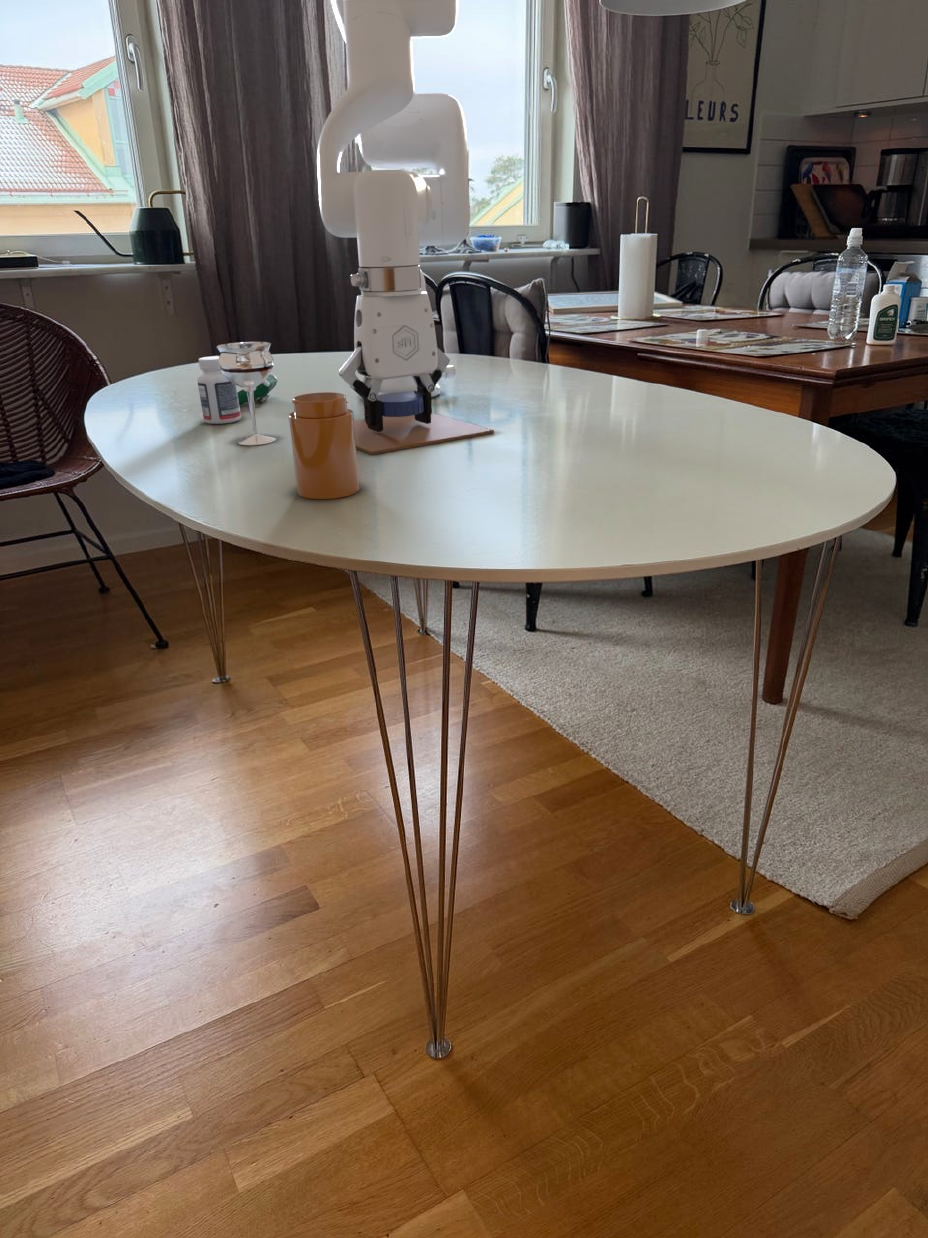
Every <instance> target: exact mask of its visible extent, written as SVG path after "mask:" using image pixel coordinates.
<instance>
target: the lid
mask: <svg viewBox="0 0 928 1238" xmlns="http://www.w3.org/2000/svg"><path fill="white" fill-rule="evenodd" d="M377 400H380V401H381V403H382V416H385V417H404V416H412V415H417V414H420V413H422V412H423V411H424V401H423V396H422V395H420V394H416V393H387V394H381V395H378V396H377Z"/></svg>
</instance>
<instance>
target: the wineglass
mask: <svg viewBox="0 0 928 1238" xmlns="http://www.w3.org/2000/svg"><path fill="white" fill-rule="evenodd" d="M271 345H272V343H271V342H268V341H240V342H239V341H238V342H229V343H223V344H218V345H217V346H216V349H217V350H218V351H219V353H220V354H219V355H218V356H219V362H218V363H219V366H220V370H221V372H222V374H223V376H224V377H226V378H227V379H228V380H229V381H230V382H231V383H233V384H235V385H236V386H237V387H239V388H242V390H244V391H247V396H248V401H249V403H248V406H249V414H250V418H251V423H252V424H251V425H252V430H253V434H251V435H249V436H245V437H244V438H241V439H239V440H237V441H236V443H237V444H238V445H243V446H259V445H266V444H270V443H273V442H275V441H277V440H276V437H273V436H270V435H264V434H260V433H258V430H257V417H256V408H255V401H254V395H253V391H255V390H256V386H258V385H260V384H261V383H263V382H264V381H266V379H267V378H268V377H269V375H270V374H271V373H272V374H273V370H274V358H273V355H272V354H271V352H270V347H271Z"/></svg>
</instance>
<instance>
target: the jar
mask: <svg viewBox="0 0 928 1238" xmlns="http://www.w3.org/2000/svg"><path fill="white" fill-rule="evenodd" d="M291 403H292V404H293V412H290V413H289V414H288V421H289V429H290V439H291V447H292V457H293V465H294V466H293V467H294V473H295V483H296V489H297V490H296V491H297V494H298V496H299V497H301V498H304V499H309V500H334V499H342V498H345V497H349V496H351V495H354V494H356V493H358V492H359V491H360V489H361V488H360V477H359V466H358V454H357V453H358V452H357V449H356V440H355V428H354V421H355V418H354V416H355V415H354V411H353V410H352V409H351V408H348V407H347V406H348V405H347V404H348V401H347V396H346V394H344V393H341V392H330V391H329V392H311V393H304V394H300V395H299V394H298V395H296V396H294V397H293V398H292V400H291Z"/></svg>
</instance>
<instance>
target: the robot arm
mask: <svg viewBox="0 0 928 1238" xmlns="http://www.w3.org/2000/svg"><path fill="white" fill-rule="evenodd" d="M330 3H331V7H332V11H333V15H334V17H335V20H336V23H337V25H338V28H339V31H340V33H341V36H342V38H343V40H344V43H345V54H346V57H345V58H346V74H347V75H346V76H347V89H346V90H345V92H344V94H343V95H342V96H341V97H340V98H339V100H338V101H337V102H336V103H335V105H334V107H333V108H332V110H331V111H330V113H329V114H328V116H327V118H326V120H325V122H324V124H323V126H322V128H321V132H320V136H319V138H318V143H317V149H316V151H317V152H316V167H317V189H318V191H317V192H318V203H319V204H318V205H319V211H320V217H321V221H322V223H323V226H324V228H325V229H326V230H327V232H328V233H330V235H333V236H334V237H337V238H346V239H348V238H356V243H357V255H358V256H357V257H358V268H357V271H358V272H357V273H355V274H351V275H350V283H351V286H352V287H358V288H359V291H360V294H358V295H357V296H356V302H355V309H354V320H353V321H354V323H353V324H354V326H353V344H354V345H353V346H354V347H353V348H354V349H353V350H354V351H353V352H352V354H351V355H350V356H349V357H348V359H347V360H346V361H345V362H344V364H343V365H342V367H340V369H339V371H338V375H339V377H340V378H342V380H343V381H344V382H345V383H346V384H347V385H349V387H350V389H352V390H353V391H354V392H355V393H356V394H357V395H358V396H359V397H360V398H361V399H363V400H362V401H363V412H364V419H365V422H366V424H367V425H368V428H369V429H371V430H374V431H376V432H381V431H382V430H383V416H382V403H381V401H380V400H377V396H378V395H381V394H387V393H416V394H420V395H422V396H423V401H424V411H423V412H422V413H420V414H417V415H415V420H417V421H419V422H422V423H426V424H428V423H431V414H432V413H433V405H432V404H433V403H432V398H433V397H436V396H438V395H440V393H441V386H440V385H439V384H438V383H439V381H440V380H441V379H445V380H446V379H451V378H452V379H453V378H455V377H456V375H457V374H456V373H457V371H456V368H455V365H449V364H450V362H451V361H450V357H448V356H447V355H446V354H445V353H444V351H442V350H441V349H440V348H439V347H438V343H437V335H436V326H435V321H434V320H435V319H434V314H433V310H432V305H431V301H430V297H429V294H428V292H427V285H426V278H425V275H424V272H423V271H422V269H421V255H420V254H421V253H420V247H437V246H438V247H439V246H440V247H441V246H452V245H458V244H460V243H462V242H463V241H465V240H466V238H467V236H468V234H469V231H470V226H471V225H470V224H471V203H470V183H469V161H468V160H469V159H468V137H467V127H466V126H467V124H466V118H465V114H464V110H463V107H462V105H461V103H460V102H459V100H458V99H457V98H455V97H454V96H453V95H451V94H447V93H435V92H434V93H415V75H414V73H415V72H414V71H415V70H414V55H413V53H414V52H413V39H423V38H426V39H427V38H429V39H430V38H444V37H448V36H450V35H451V34H452V33H453V32H454V30H455V29H456V25H457V20H458V13H459V0H330ZM356 138H357V141H358V142H357V143H358V147H359V151H360V152H359V153H360V156H361V158H362V160H363V161H364V163H365V164H366V165H368V166H370V167H372V168H376V169H373V170H365V171H349V172H340V163H341V158H342V154H343V153H344V151H345V150H346V148H347V146H349V144H350V143H351V142H353V140H354V139H356ZM405 169H433V170H434V171H435V172H436V173H437V175H420V174H419V173H417V172H415V171H410V170H409V171H408V170H405ZM356 372H357V374H359V375H361V376H363V378H362V380H361V379H359V378H358V376H357V375H356Z"/></svg>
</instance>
